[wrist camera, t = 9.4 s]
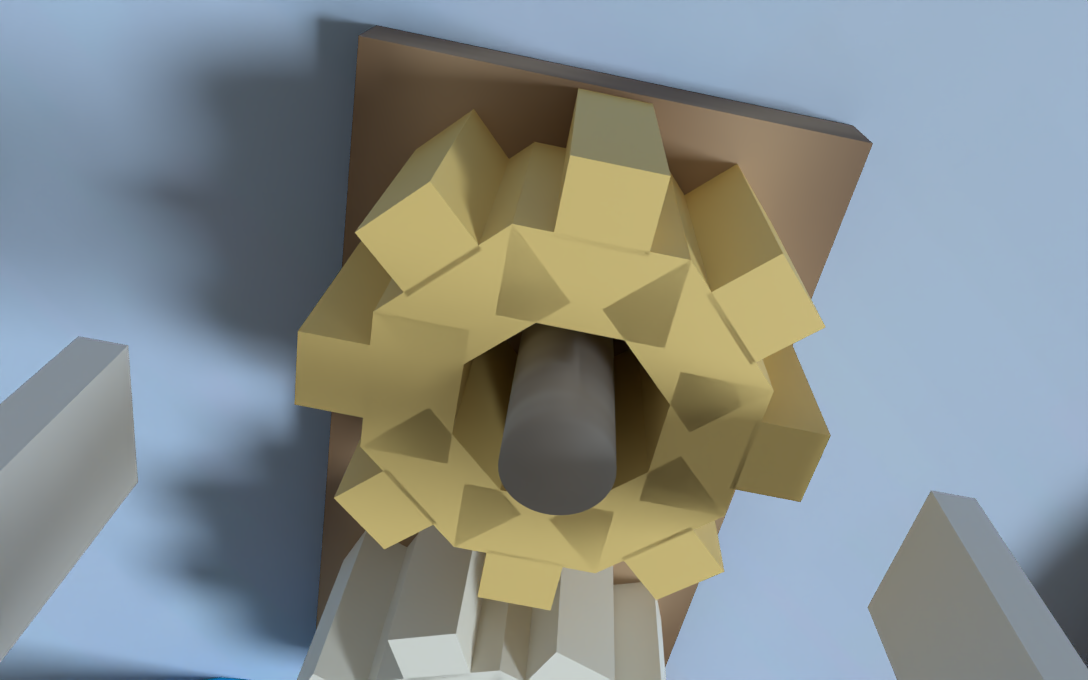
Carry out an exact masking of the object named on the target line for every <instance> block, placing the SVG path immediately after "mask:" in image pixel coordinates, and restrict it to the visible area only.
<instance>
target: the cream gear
mask: <svg viewBox="0 0 1088 680" xmlns="http://www.w3.org/2000/svg"><path fill="white" fill-rule="evenodd" d="M484 557H485V553H484V552H479V551H473V550H468V549H463V548H457V547H453V546H452V544H451V543H450V542H449V541H448V540H447V539H446V538H445V537H444V536H443V535H442V534H441V533H440V532H439V531H438V529H437V528H436V527H435V526H434V525H432V526H430V527H428V528H426V529H424V530H422V531H420V532H419V533H418V534H417V536H416V537H415V538H414V539H413V541H412V542H411V543H410V544H409V546H408V547H405V546H403V545H402V544H400V543H396V544H394V545H392V546H390V547H388V548H386V549H383V548H382V546H381V545H380V544H379V543H378V542H377V541H376V540H375V539H374V538H373V537H372V536H371V535H370V534H369V533H368V532H367V531H366V530H365V532H364V533H363V534H362V536H361V537H360V539H359V540H358V541H357V543H356V544H355V545H354V547H353V548H352V549H351V551H350V552H349V553H348V555H347V556H346V558H345V559H344V560H343V563H342V565H341V568H340V571H339V573H338V576H337V578H336V581H335V583H334V586H333V588H332V591H331V594H330V596H329V599H328V601H327V604H326V606H325V609H324V612H323V614H322V617H321V619H320V622H319V624H318V627H317V630H316V632H315V635H314V637H313V640H312V642H311V645H310V648H309V650H308V653H307V655H306V658H305V660H304V663H303V665H302V668H301V671H300V673H299V676H298V678H297V680H666V674H665V661H664V649H663V637H662V625H661V616H660V611H659V606H658V601H657V600H656V599H655V598H654V597H653V596H652V595H651V593H650V592H649V591H648V590H647V588H646V587H645V586H644V585H643V584H642V582H637V583H627V584H617V585H613V566H611V567H608V568H606V569H604V570H602V571H599V572H597V573H591V572H585V571H580V570H575V569H569V568H564V567H563V568H562V571H561V575H560V578H559V582H558V586H557V589H556V593H555V597H554V600H553V604H552V607H551V611H550V610H545V609H540V608H534V607H529V606H523V605H518V604H513V603H507V602H502V601H496V600H491V599H486V598H480V597H478V591H479V585H480V580H481V574H482V569H483V563H484Z"/></svg>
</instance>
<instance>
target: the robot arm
mask: <svg viewBox="0 0 1088 680" xmlns="http://www.w3.org/2000/svg"><path fill="white" fill-rule="evenodd" d="M137 482H138V477H137V463H136V449H135V435H134V421H133V407H132V393H131V379H130V365H129V351H128V345H123V344H118V343H112V342H107V341H101V340H96V339H90V338H85V337H79V336H78V337H77V338H76V339H75V340H74V341H72V342H71V343H70V344H69V345H68V346H67V347H66V348H64V349H63V350H62V351H61V352H60V353H59V354H57V355H56V356H55V357H54V358H53V359H52V360H51V361H49V362H48V363H47V364H46V365H45V366H44V367H42V368H41V369H40V370H39V371H38V372H37V373H36V374H34V375H33V376H32V377H31V378H30V379H29V380H27V381H26V382H25V383H24V384H23V385H22V386H21V387H19V388H18V389H17V390H16V391H15V392H14V393H12V394H11V395H10V396H9V397H8V398H7V399H6V400H4V401H3V402H2V403H1V404H0V662H1V661H2V660H3V659H4V657H5V656H6V655H7V653H8V652H9V651H10V649H11V648H12V647H13V645H14V644H15V643H16V641H17V640H18V639H19V637H20V636H21V635H22V634H23V632H24V631H25V630H26V628H27V627H28V626H29V624H30V623H31V622H32V620H33V619H34V618H35V616H36V615H37V614H38V613H39V611H40V610H41V609H42V607H43V606H44V605H45V603H46V602H47V601H48V599H49V598H50V597H51V595H52V594H53V593H54V592H55V590H56V589H57V588H58V586H59V585H60V584H61V582H62V581H63V580H64V578H65V577H66V576H67V574H68V573H69V572H70V570H71V569H72V568H73V567H74V565H75V564H76V563H77V561H78V560H79V559H80V557H81V556H82V555H83V553H84V552H85V551H86V549H87V548H88V547H89V546H90V544H91V543H92V542H93V540H94V539H95V538H96V536H97V535H98V534H99V532H100V531H101V530H102V528H103V527H104V526H105V525H106V523H107V522H108V521H109V519H110V518H111V517H112V515H113V514H114V513H115V511H116V510H117V509H118V507H119V506H120V505H121V503H122V502H123V501H124V500H125V498H126V497H127V496H128V494H129V493H130V492H131V490H132V489H133V488H134V486H135V485H136V484H137ZM868 609H869V612H870V614H871V617H872V619H873V622H874V624H875V626H876V629H877V631H878V634H879V636H880V639H881V641H882V644H883V646H884V649H885V651H886V653H887V656H888V658H889V661H890V663H891V666H892V668H893V671H894V673H895V676H896V678H897V680H1088V668H1087V667H1086V665H1085V664H1084V662H1083V661H1082V659H1081V658H1080V656H1079V655H1078V653H1077V652H1076V650H1075V649H1074V647H1073V646H1072V644H1071V643H1070V641H1069V640H1068V638H1067V637H1066V635H1065V633H1064V632H1063V630H1062V629H1061V627H1060V626H1059V624H1058V623H1057V621H1056V620H1055V618H1054V617H1053V615H1052V614H1051V612H1050V611H1049V609H1048V608H1047V606H1046V605H1045V603H1044V602H1043V600H1042V599H1041V597H1040V596H1039V594H1038V593H1037V591H1036V590H1035V588H1034V587H1033V585H1032V584H1031V582H1030V581H1029V579H1028V578H1027V576H1026V574H1025V573H1024V571H1023V570H1022V568H1021V567H1020V565H1019V564H1018V562H1017V561H1016V559H1015V558H1014V556H1013V555H1012V553H1011V552H1010V550H1009V549H1008V547H1007V546H1006V544H1005V543H1004V541H1003V540H1002V538H1001V537H1000V535H999V534H998V532H997V531H996V529H995V528H994V526H993V525H992V523H991V522H990V520H989V519H988V517H987V515H986V514H985V512H984V511H983V509H982V508H981V506H980V505H979V503H978V502H977V500H976V499H975V498H970V497H964V496H959V495H953V494H948V493H942V492H937V491H931V492H930V494H929V495H928V497H927V499H926V501H925V503H924V505H923V506H922V508H921V510H920V512H919V514H918V516H917V517H916V519H915V521H914V523H913V525H912V527H911V528H910V530H909V532H908V534H907V536H906V538H905V539H904V541H903V543H902V545H901V547H900V549H899V550H898V552H897V554H896V556H895V558H894V560H893V562H892V563H891V565H890V567H889V569H888V571H887V573H886V574H885V576H884V578H883V580H882V582H881V584H880V585H879V587H878V589H877V591H876V593H875V595H874V596H873V598H872V600H871V602H870V604H869V606H868Z"/></svg>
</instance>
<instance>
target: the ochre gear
mask: <svg viewBox="0 0 1088 680" xmlns="http://www.w3.org/2000/svg"><path fill="white" fill-rule="evenodd" d="M355 233H356V235H357V236H358V237H359V238H360V240H361V242H360V243H359V245H358V246H357V247H356V249H355V250H354V252H353V253H352V255H351V256H350V257H349V259H348V260H347V262H346V263H345V265H344V266H343V267H342V269H341V270H340V272H339V273H338V275H337V276H336V277H335V279H334V280H333V282H332V283H331V285H330V286H329V287H328V289H327V290H326V292H325V293H324V295H323V296H322V297H321V299H320V300H319V302H318V303H317V305H316V306H315V307H314V309H313V310H312V312H311V313H310V315H309V316H308V317H307V319H306V320H305V322H304V323H303V325H302V326H301V327H300V329H299V330H298V339H297V361H296V384H295V405H300V406H305V407H310V408H315V409H321V410H326V411H331V412H336V413H341V414H347V415H352V416H357V417H362V418H363V424H362V434H361V438H360V440H359V443H358V445H357V447H356V449H355V452H354V454H353V456H352V458H351V461H350V463H349V465H348V467H347V470H346V472H345V474H344V476H343V478H342V481H341V483H340V485H339V487H338V490H337V492H336V494H335V496H334V499H335V500H336V501H337V502H338V503H339V504H340V505H341V506H342V507H343V508H344V509H345V510H346V511H347V512H348V513H349V514H350V515H351V516H352V517H353V518H354V519H355V520H356V521H357V522H358V523H359V524H360V525H361V526H362V527H363V528H364V529H365V530H366V531H367V532H368V533H369V534H370V535H371V536H372V537H373V538H374V539H375V540H376V541H377V542H378V543H379V544H380V545H381V546H382V548H383V549H386V548H388V547H390V546H392V545H394V544H396V543H398V542H400V541H402V540H404V539H406V538H408V537H410V536H412V535H414V534H416V533H418V532H420V531H422V530H424V529H426V528H428V527H430V526H432V525H434V526H435V527H436V528H437V529H438V531H439V532H440V533H441V534H442V535H443V536H444V537H445V538H446V539H447V540H448V541H449V542H450V543H451V544H452V546H453V547H457V548H463V549H468V550H473V551H479V552H484V553H485V557H484V563H483V569H482V574H481V580H480V585H479V591H478V597H480V598H486V599H491V600H496V601H502V602H507V603H513V604H518V605H523V606H529V607H534V608H540V609H545V610H550V611H551V607H552V604H553V600H554V597H555V593H556V589H557V586H558V582H559V578H560V575H561V571H562V568H563V567H564V568H569V569H575V570H580V571H585V572H591V573H597V572H599V571H602V570H604V569H606V568H608V567H611V566H613V565H615V564H617V563H620V562H622V561H624V562H625V563H626V564H627V565H628V566H629V568H630V569H631V570H632V571H633V573H634V574H635V575H636V576H637V577H638V579H639V580H640V581H641V582H642V584H643V585H644V586H645V587H646V588H647V590H648V591H649V592H650V593H651V595H652V596H653V597H654V598H655V599H656V600H658V599H660V598H662V597H665V596H667V595H670V594H672V593H674V592H677V591H679V590H682V589H684V588H686V587H689V586H691V585H694V584H696V583H698V582H701V581H703V580H706V579H708V578H710V577H713V576H715V575H717V574H720V573H722V572H724V568H723V562H722V557H721V551H720V546H719V540H718V535H717V529H716V524H715V520H717V519H719V518H721V517H724V515H725V513H726V510H727V508H728V505H729V503H730V500H731V498H732V495H733V493H734V490H735V489H736V490H741V491H746V492H752V493H757V494H762V495H767V496H772V497H778V498H783V499H788V500H793V501H798V502H801V500H802V498H803V496H804V493H805V491H806V489H807V487H808V484H809V482H810V480H811V478H812V476H813V473H814V471H815V469H816V467H817V465H818V462H819V460H820V458H821V456H822V454H823V451H824V449H825V447H826V445H827V442H828V440H829V438H830V436H831V435H830V433H829V431H828V428H827V426H826V424H825V421H824V419H823V417H822V414H821V412H820V409H819V407H818V405H817V402H816V400H815V398H814V395H813V393H812V391H811V388H810V386H809V384H808V381H807V379H806V376H805V374H804V372H803V369H802V367H801V365H800V362H799V360H798V358H797V355H796V353H795V351H794V348H793V346H792V344H793V343H795V342H797V341H799V340H801V339H803V338H805V337H807V336H809V335H811V334H813V333H815V332H817V331H819V330H821V329H823V328H825V325H824V323H823V321H822V319H821V317H820V315H819V314H818V312H817V310H816V308H815V306H814V304H813V302H812V300H811V298H810V296H809V294H808V292H807V290H806V289H805V287H804V285H803V283H802V281H801V279H800V277H799V275H798V273H797V271H796V269H795V267H794V265H793V264H792V262H791V260H790V258H789V256H788V254H787V252H786V250H785V248H784V246H783V244H782V242H781V240H780V239H779V237H778V235H777V233H776V231H775V229H774V227H773V225H772V223H771V221H770V220H769V218H768V216H767V214H766V213H765V211H764V209H763V207H762V206H761V204H760V202H759V200H758V199H757V197H756V195H755V193H754V192H753V190H752V188H751V186H750V185H749V183H748V181H747V180H746V178H745V176H744V174H743V173H742V171H741V169H740V167H739V166H738V164H736V165H734V166H733V167H731V168H729V169H728V170H726V171H724V172H723V173H721V174H719V175H717V176H716V177H714V178H712V179H711V180H709V181H707V182H706V183H704V184H702V185H701V186H699V187H697V188H696V189H694V190H692V191H691V192H689V193H687V194H686V195H684V194H683V192H682V190H681V189H680V187H679V185H678V184H677V182H676V181H675V179H674V177H673V176H672V174H671V172H670V171H669V167H668V163H667V159H666V155H665V151H664V147H663V143H662V138H661V134H660V130H659V126H658V122H657V118H656V114H655V110H654V106H653V104H652V103H647V102H642V101H638V100H633V99H628V98H623V97H618V96H614V95H609V94H604V93H599V92H595V91H590V90H585V89H580V88H578V93H577V97H576V102H575V107H574V112H573V117H572V122H571V126H570V131H569V136H568V141H567V146H566V148H562V147H557V146H553V145H548V144H543V143H538V142H534V143H532V144H531V145H529V146H528V147H526V148H525V149H523V150H522V151H520V152H519V153H517V154H516V155H514V156H513V157H511V158H510V159H509V158H508V157H507V156H506V154H505V153H504V151H503V150H502V148H501V147H500V146H499V144H498V143H497V141H496V140H495V138H494V137H493V136H492V134H491V133H490V131H489V130H488V128H487V127H486V126H485V124H484V123H483V121H482V120H481V118H480V117H479V116H478V114H477V113H476V111H475V110H474V109H473V110H472V111H470V112H469V113H467V114H466V115H464V116H463V117H462V118H460V119H459V120H457V121H456V122H454V123H453V124H452V125H450V126H449V127H447V128H446V129H444V130H443V131H442V132H440V133H439V134H437V135H436V136H434V137H433V138H432V139H430V140H429V141H427V142H426V143H424V144H423V145H422V146H420V147H419V148H417V149H416V150H415V151H414V153H413V154H412V155H411V157H410V158H409V159H408V161H407V162H406V164H405V165H404V166H403V168H402V169H401V170H400V172H399V173H398V174H397V176H396V177H395V178H394V180H393V181H392V183H391V184H390V185H389V187H388V188H387V189H386V191H385V192H384V193H383V195H382V196H381V197H380V199H379V200H378V202H377V203H376V204H375V206H374V207H373V208H372V210H371V211H370V212H369V214H368V215H367V216H366V218H365V219H364V221H363V222H362V223H361V225H360V226H359V227H358V229H357V230H356V231H355ZM534 323H540V324H545V325H550V326H555V327H560V328H565V329H570V330H575V331H580V332H585V333H590V334H595V335H600V336H605V337H610V338H615V339H620V340H625V342H626V343H627V345H628V346H629V347H630V349H628V350H627V351H625V352H623V353H621V354H619V355H617V356H615V357H614V387H615V426H616V465H617V470H616V478H615V482H614V485H613V487H612V489H611V490H610V492H609V493H608V495H607V496H606V497H605V498H604V499H603V500H602V501H601V502H600V503H598V504H597V505H595V506H594V507H592V508H590V509H588V510H585V511H583V512H580V513H576V514H571V515H549V514H544V513H539V512H536V511H534V510H531V509H529V508H527V507H525V506H523V505H522V504H520V503H519V502H517V501H516V500H515V499H514V498H513V497H512V496H511V495H510V494H509V493H508V492H507V491H506V489H505V488H504V486H503V484H502V482H501V479H500V477H499V472H498V460H499V454H500V449H501V443H502V438H503V433H504V427H505V422H506V416H507V411H508V405H509V400H510V394H511V389H512V384H513V378H514V373H515V367H516V362H517V356H518V355H517V354H516V352H515V351H514V350H513V348H512V347H511V346H510V345H509V343H508V342H507V341H506V340H507V339H508V338H510V337H512V336H514V335H515V334H517V333H519V332H521V331H522V330H524V329H526V328H528V327H529V326H531V325H533V324H534Z"/></svg>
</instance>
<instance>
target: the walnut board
mask: <svg viewBox="0 0 1088 680" xmlns="http://www.w3.org/2000/svg"><path fill="white" fill-rule="evenodd" d="M578 88H580V89H585V90H590V91H595V92H599V93H604V94H609V95H614V96H618V97H623V98H628V99H633V100H638V101H642V102H647V103H652V104H653V106H654V110H655V114H656V118H657V122H658V126H659V130H660V134H661V138H662V143H663V147H664V151H665V155H666V159H667V163H668V167H669V171H670V172H671V174H672V176H673V177H674V179H675V181H676V182H677V184H678V185H679V187H680V189H681V190H682V192H683V194H684V195H686V194H687V193H689V192H691V191H692V190H694V189H696V188H697V187H699V186H701V185H702V184H704V183H706V182H707V181H709V180H711V179H712V178H714V177H716V176H717V175H719V174H721V173H723V172H724V171H726V170H728V169H729V168H731V167H733V166H734V165H736V164H738V166H739V167H740V169H741V171H742V173H743V174H744V176H745V178H746V180H747V181H748V183H749V185H750V186H751V188H752V190H753V192H754V193H755V195H756V197H757V199H758V200H759V202H760V204H761V206H762V207H763V209H764V211H765V213H766V214H767V216H768V218H769V220H770V221H771V223H772V225H773V227H774V229H775V231H776V233H777V235H778V237H779V239H780V240H781V242H782V244H783V246H784V248H785V250H786V252H787V254H788V256H789V258H790V260H791V262H792V264H793V265H794V267H795V269H796V271H797V273H798V275H799V277H800V279H801V281H802V283H803V285H804V287H805V289H806V290H807V292H808V294H809V296H810V298H812V296H813V293H814V291H815V288H816V286H817V283H818V280H819V278H820V275H821V273H822V270H823V268H824V265H825V263H826V260H827V258H828V255H829V253H830V250H831V248H832V245H833V243H834V240H835V238H836V235H837V233H838V230H839V228H840V225H841V222H842V220H843V217H844V215H845V212H846V210H847V207H848V205H849V202H850V200H851V197H852V195H853V192H854V190H855V187H856V185H857V182H858V180H859V177H860V175H861V172H862V169H863V167H864V164H865V162H866V159H867V157H868V154H869V152H870V149H871V147H872V144H873V143H872V142H871V141H869V140H868V139H867V138H866V137H865V136H864V135H863V134H862V133H861V132H860V131H858V130H857V129H856V128H855V127H854V126H852V125H847V124H842V123H837V122H833V121H828V120H823V119H818V118H814V117H809V116H804V115H799V114H795V113H790V112H785V111H780V110H776V109H771V108H766V107H761V106H757V105H752V104H747V103H742V102H738V101H733V100H728V99H723V98H719V97H714V96H709V95H704V94H700V93H695V92H690V91H685V90H681V89H676V88H671V87H666V86H662V85H657V84H652V83H647V82H643V81H638V80H633V79H628V78H624V77H619V76H614V75H609V74H605V73H600V72H595V71H590V70H586V69H581V68H576V67H571V66H567V65H562V64H557V63H552V62H548V61H543V60H538V59H533V58H529V57H524V56H519V55H515V54H510V53H505V52H500V51H496V50H491V49H486V48H481V47H477V46H472V45H467V44H462V43H458V42H453V41H448V40H443V39H439V38H434V37H429V36H424V35H420V34H415V33H410V32H405V31H401V30H396V29H391V28H386V27H382V26H377V25H376V26H375V27H373V28H371V29H369V30H368V31H366V32H364V33H362V34H361V35H359V38H358V52H357V66H356V80H355V94H354V108H353V122H352V136H351V150H350V163H349V177H348V191H347V205H346V219H345V233H344V247H343V261H342V267H343V266H344V265H345V263H346V262H347V260H348V259H349V257H350V256H351V255H352V253H353V252H354V250H355V249H356V247H357V246H358V245H359V243H360V242H361V240H360V238H359V237H358V236H357V235H356V233H355V231H356V230H357V229H358V227H359V226H360V225H361V223H362V222H363V221H364V219H365V218H366V216H367V215H368V214H369V212H370V211H371V210H372V208H373V207H374V206H375V204H376V203H377V202H378V200H379V199H380V197H381V196H382V195H383V193H384V192H385V191H386V189H387V188H388V187H389V185H390V184H391V183H392V181H393V180H394V178H395V177H396V176H397V174H398V173H399V172H400V170H401V169H402V168H403V166H404V165H405V164H406V162H407V161H408V159H409V158H410V157H411V155H412V154H413V153H414V151H415V150H416V149H417V148H419V147H420V146H422V145H423V144H424V143H426V142H427V141H429V140H430V139H432V138H433V137H434V136H436V135H437V134H439V133H440V132H442V131H443V130H444V129H446V128H447V127H449V126H450V125H452V124H453V123H454V122H456V121H457V120H459V119H460V118H462V117H463V116H464V115H466V114H467V113H469V112H470V111H472V110H473V109H474V110H475V111H476V113H477V114H478V116H479V117H480V118H481V120H482V121H483V123H484V124H485V126H486V127H487V128H488V130H489V131H490V133H491V134H492V136H493V137H494V138H495V140H496V141H497V143H498V144H499V146H500V147H501V148H502V150H503V151H504V153H505V154H506V156H507V157H508V158H509V159H510V158H511V157H513V156H514V155H516V154H517V153H519V152H520V151H522V150H523V149H525V148H526V147H528V146H529V145H531V144H532V143H534V142H538V143H543V144H548V145H553V146H557V147H562V148H566V146H567V141H568V136H569V131H570V126H571V122H572V117H573V112H574V107H575V102H576V97H577V93H578ZM506 341H507V342H508V343H509V345H510V346H511V347H512V348H513V350H514V351H515V352H516V354H517V355H518V356H517V362H516V367H515V373H514V378H513V384H512V389H511V394H510V400H509V405H508V411H507V416H506V422H505V427H504V433H503V438H502V443H501V449H500V454H499V460H498V472H499V477H500V479H501V482H502V484H503V486H504V488H505V489H506V491H507V492H508V493H509V494H510V495H511V496H512V497H513V498H514V499H515V500H516V501H517V502H519V503H520V504H522V505H523V506H525V507H527V508H529V509H531V510H534V511H536V512H539V513H544V514H549V515H571V514H576V513H580V512H583V511H585V510H588V509H590V508H592V507H594V506H595V505H597V504H598V503H600V502H601V501H602V500H603V499H604V498H605V497H606V496H607V495H608V493H609V492H610V490H611V489H612V487H613V485H614V482H615V478H616V470H617V465H616V426H615V387H614V357H615V356H617V355H619V354H621V353H623V352H625V351H627V350H628V349H630V347H629V346H628V345H627V343H626V342H625V340H620V339H615V338H610V337H605V336H600V335H595V334H590V333H585V332H580V331H575V330H570V329H565V328H560V327H555V326H550V325H545V324H540V323H534V324H533V325H531V326H529V327H528V328H526V329H524V330H522V331H521V332H519V333H517V334H515V335H514V336H512V337H510V338H508V339H507V340H506ZM793 344H794V343H793ZM793 344H792V346H793ZM362 424H363V418H362V417H357V416H352V415H347V414H341V413H336V412H332V414H331V428H330V442H329V456H328V469H327V483H326V497H325V511H324V525H323V539H322V553H321V567H320V581H319V595H318V609H317V622H316V630H317V627H318V624H319V622H320V619H321V617H322V614H323V612H324V609H325V606H326V604H327V601H328V599H329V596H330V594H331V591H332V588H333V586H334V583H335V581H336V578H337V576H338V573H339V571H340V568H341V565H342V563H343V560H344V559H345V558H346V556H347V555H348V553H349V552H350V551H351V549H352V548H353V547H354V545H355V544H356V543H357V541H358V540H359V539H360V537H361V536H362V534H363V533H364V532H365V529H364V528H363V527H362V526H361V525H360V524H359V523H358V522H357V521H356V520H355V519H354V518H353V517H352V516H351V515H350V514H349V513H348V512H347V511H346V510H345V509H344V508H343V507H342V506H341V505H340V504H339V503H338V502H337V501H336V500H335V499H334V496H335V494H336V492H337V490H338V487H339V485H340V483H341V481H342V478H343V476H344V474H345V472H346V470H347V467H348V465H349V463H350V461H351V458H352V456H353V454H354V452H355V449H356V447H357V445H358V443H359V440H360V438H361V434H362ZM735 490H736V489H735ZM735 490H734V492H735ZM733 495H734V493H733ZM733 495H732V497H733ZM731 500H732V498H731ZM731 500H730V502H731ZM729 505H730V503H729ZM729 505H728V508H729ZM728 508H727V510H728ZM727 510H726V513H727ZM726 513H725V515H726ZM725 515H724V517H721V518H719V519H717V520H715V524H716V529H717V535H718V533H719V530H720V528H721V525H722V523H723V520H724V518H725ZM418 533H419V532H418ZM418 533H416V534H414V535H412V536H410V537H408V538H406V539H404V540H402V541H400V542H398V543H400V544H402V545H403V546H405V547H408V546H409V544H410V543H411V542H412V541H413V539H414V538H415V537H416V536H417V534H418ZM637 582H641V581H640V580H639V579H638V577H637V576H636V575H635V574H634V573H633V571H632V570H631V569H630V568H629V566H628V565H627V564H626V563H625V562H624V561H622V562H620V563H617V564H615V565H613V585H617V584H627V583H637ZM698 583H699V582H698ZM698 583H696V584H694V585H691V586H689V587H686V588H684V589H682V590H679V591H677V592H674V593H672V594H670V595H667V596H665V597H662V598H660V599H658V600H657V601H658V606H659V611H660V616H661V625H662V637H663V649H664V661H665V666H666V664H667V661H668V659H669V656H670V654H671V651H672V649H673V646H674V644H675V641H676V639H677V636H678V634H679V631H680V629H681V626H682V624H683V621H684V619H685V616H686V613H687V611H688V608H689V606H690V603H691V601H692V598H693V596H694V593H695V591H696V588H697V586H698Z"/></svg>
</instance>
